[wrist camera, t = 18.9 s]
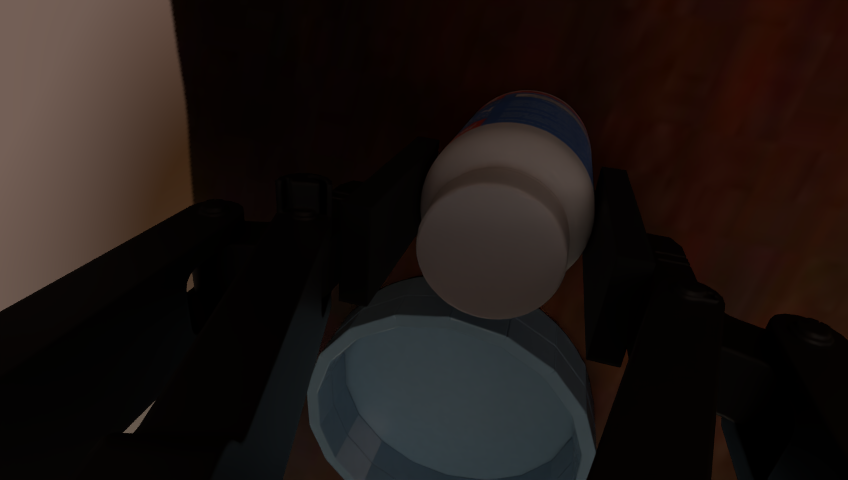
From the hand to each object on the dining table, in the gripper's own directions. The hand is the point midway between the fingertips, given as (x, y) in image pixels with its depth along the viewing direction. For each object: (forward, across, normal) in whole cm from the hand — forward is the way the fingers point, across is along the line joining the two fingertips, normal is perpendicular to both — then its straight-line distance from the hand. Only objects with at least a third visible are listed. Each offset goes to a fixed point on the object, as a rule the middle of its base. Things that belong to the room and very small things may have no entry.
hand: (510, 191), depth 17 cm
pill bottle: (+5, 0, 0) cm, 5 cm away
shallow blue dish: (+7, -1, -15) cm, 17 cm away
